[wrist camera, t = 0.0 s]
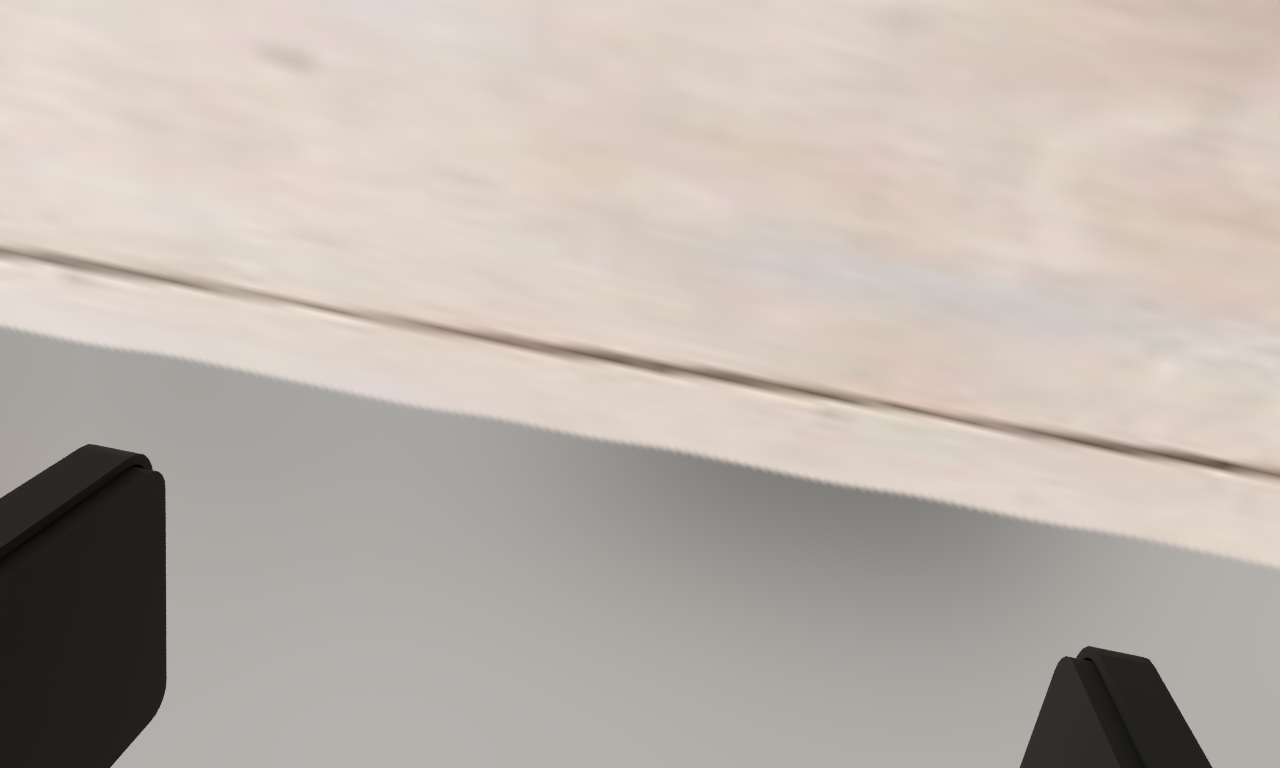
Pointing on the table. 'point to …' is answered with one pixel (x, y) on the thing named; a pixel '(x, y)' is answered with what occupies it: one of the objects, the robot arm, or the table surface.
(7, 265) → the table surface
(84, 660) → the robot arm
